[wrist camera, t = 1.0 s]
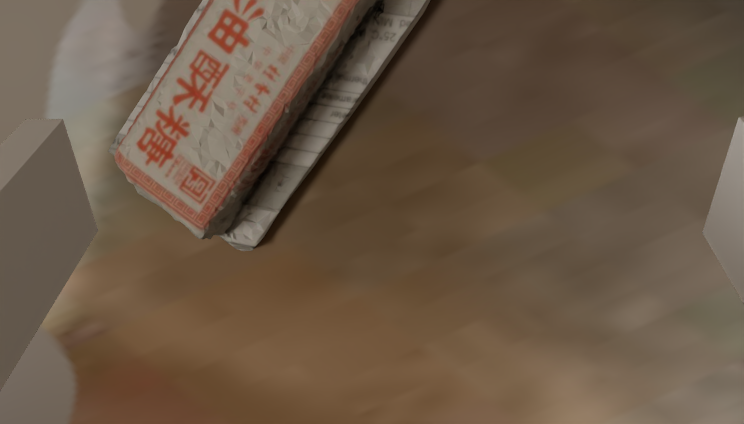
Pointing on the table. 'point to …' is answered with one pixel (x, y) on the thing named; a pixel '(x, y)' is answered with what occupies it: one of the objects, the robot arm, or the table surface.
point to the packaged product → (254, 106)
